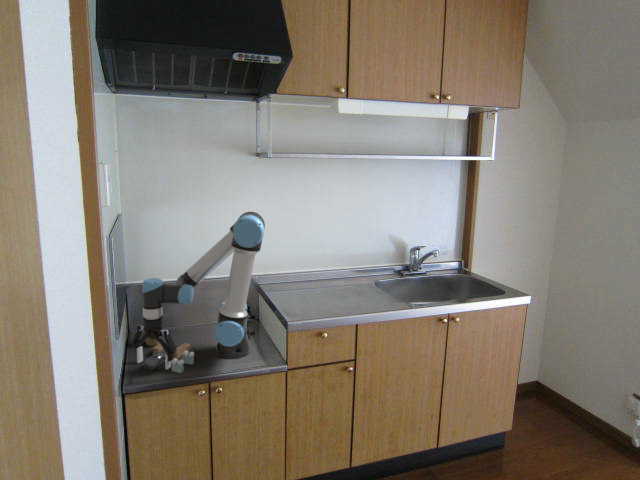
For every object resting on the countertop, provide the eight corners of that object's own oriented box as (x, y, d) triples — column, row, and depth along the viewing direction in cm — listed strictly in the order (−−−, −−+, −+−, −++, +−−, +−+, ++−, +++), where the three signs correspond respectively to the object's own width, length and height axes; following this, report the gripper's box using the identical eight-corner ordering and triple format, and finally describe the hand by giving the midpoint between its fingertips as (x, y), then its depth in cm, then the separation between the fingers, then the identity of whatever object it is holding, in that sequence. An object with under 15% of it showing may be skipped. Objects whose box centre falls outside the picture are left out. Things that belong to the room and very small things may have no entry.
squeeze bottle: (156, 348, 199) (155, 310, 196) (140, 346, 201) (138, 308, 197) (166, 341, 207) (165, 304, 204) (150, 339, 209) (149, 302, 205)
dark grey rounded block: (158, 355, 191) (163, 346, 189) (167, 361, 190) (172, 353, 188) (141, 366, 180) (146, 357, 179) (151, 373, 180) (155, 364, 178)
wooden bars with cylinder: (190, 351, 198) (190, 344, 197) (177, 360, 189) (177, 352, 189) (166, 346, 202) (166, 339, 201) (153, 355, 193) (152, 348, 192)
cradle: (184, 361, 189) (184, 350, 188) (194, 363, 188) (194, 351, 187) (171, 371, 180) (170, 359, 179) (181, 373, 179) (181, 361, 178)
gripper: (185, 318, 180) (185, 366, 184) (133, 308, 187) (134, 355, 191) (174, 324, 173) (174, 374, 177) (120, 314, 180) (122, 363, 184)
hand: (154, 365), depth 184 cm, fingers open, 13 cm apart
